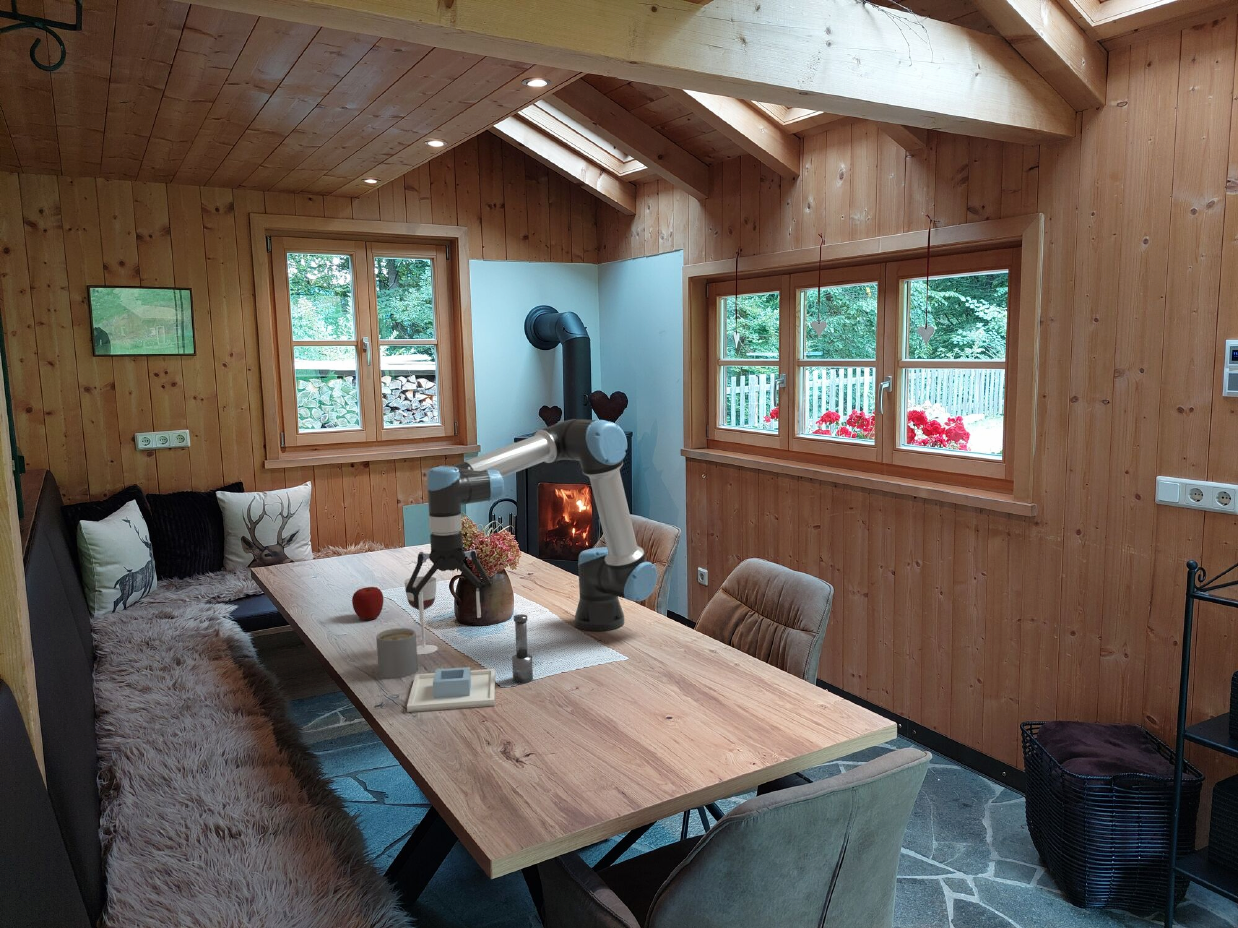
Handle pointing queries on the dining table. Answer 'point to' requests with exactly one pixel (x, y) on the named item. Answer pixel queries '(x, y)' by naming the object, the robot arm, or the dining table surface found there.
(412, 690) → the tray
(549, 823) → the dining table surface
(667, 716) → the dining table surface
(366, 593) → the apple
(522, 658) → the pestle
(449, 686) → the ring
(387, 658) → the coffee mug
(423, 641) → the wineglass
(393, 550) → the dining table surface
